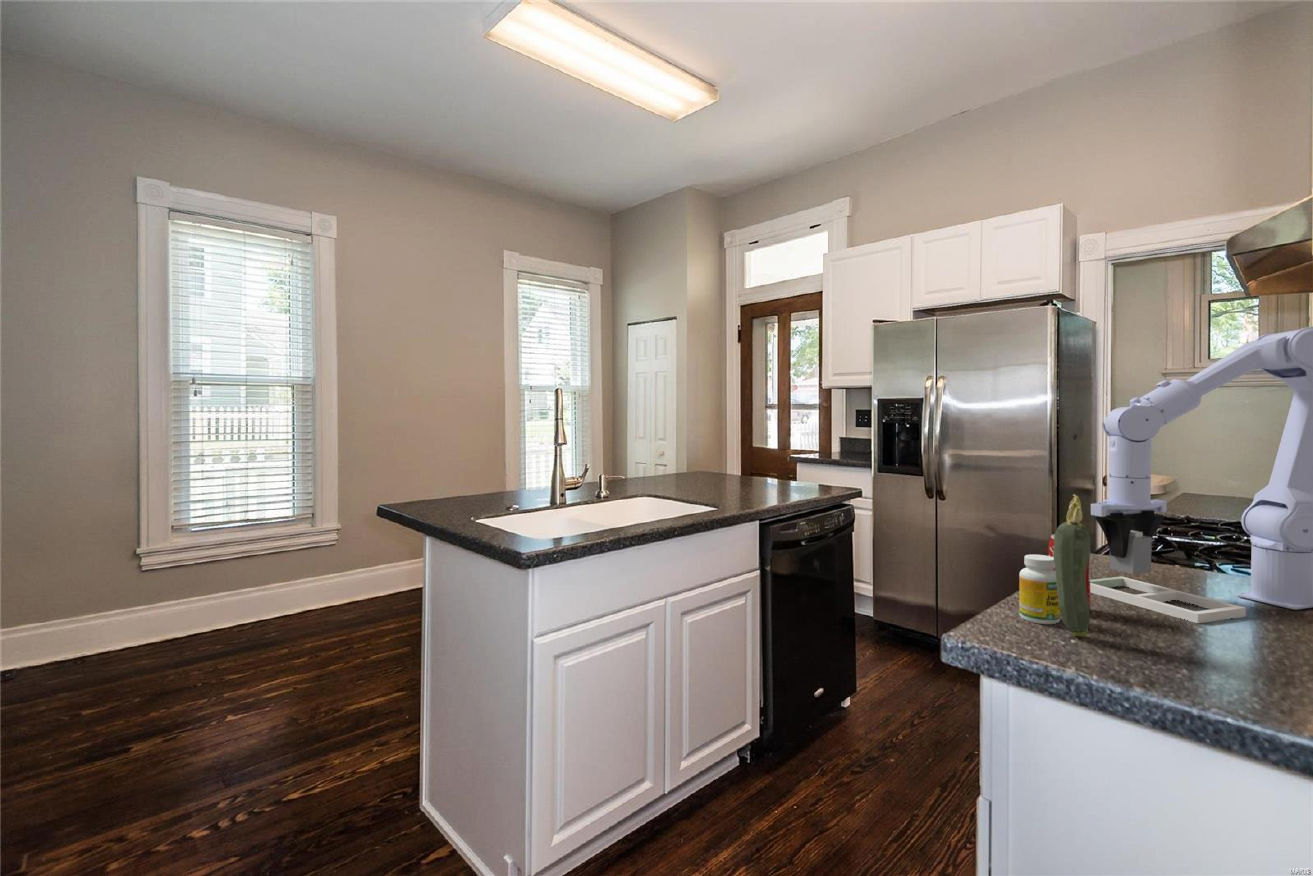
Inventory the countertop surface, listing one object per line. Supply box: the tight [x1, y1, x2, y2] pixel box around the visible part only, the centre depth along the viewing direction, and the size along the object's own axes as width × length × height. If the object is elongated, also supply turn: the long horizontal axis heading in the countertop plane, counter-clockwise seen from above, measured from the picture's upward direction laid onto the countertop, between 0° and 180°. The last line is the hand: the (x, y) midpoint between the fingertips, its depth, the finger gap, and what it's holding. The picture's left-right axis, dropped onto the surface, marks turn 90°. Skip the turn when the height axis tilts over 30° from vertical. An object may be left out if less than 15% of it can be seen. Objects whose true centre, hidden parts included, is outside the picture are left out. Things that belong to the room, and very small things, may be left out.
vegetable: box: [1054, 494, 1092, 638], centre depth 86 cm, size 4×4×20 cm
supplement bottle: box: [1018, 553, 1061, 625], centre depth 93 cm, size 5×5×10 cm
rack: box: [1090, 576, 1247, 624], centre depth 101 cm, size 10×19×1 cm, turn 15°
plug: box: [1108, 530, 1153, 575], centre depth 104 cm, size 4×4×7 cm
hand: (1128, 555), depth 105 cm, fingers closed on plug, 4 cm apart
